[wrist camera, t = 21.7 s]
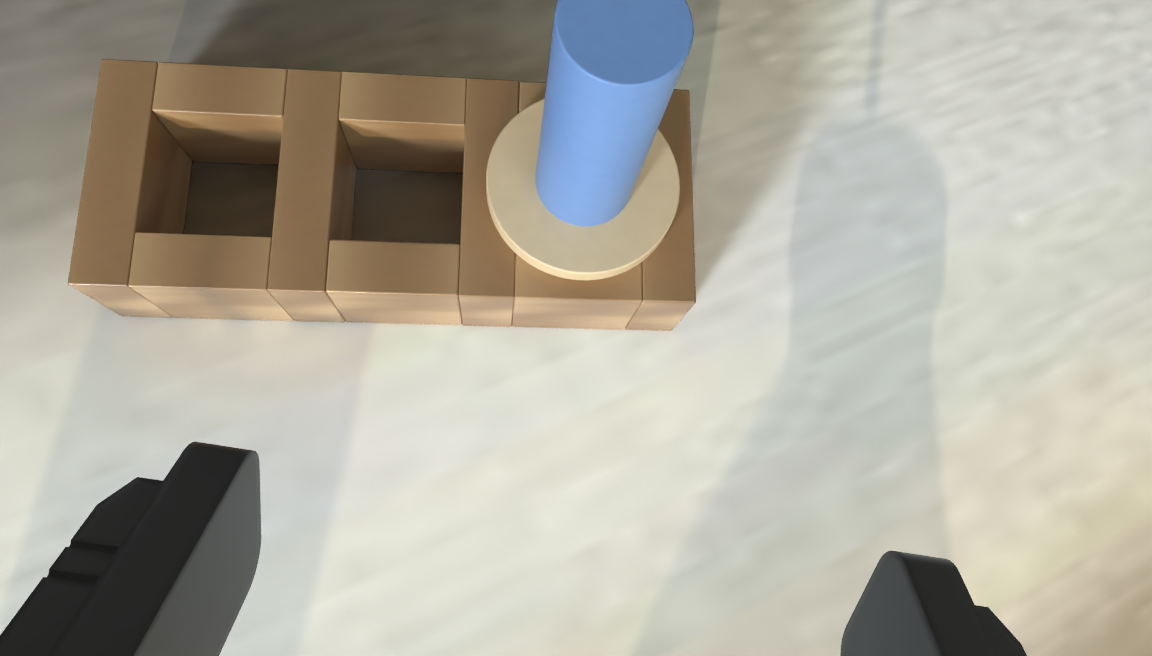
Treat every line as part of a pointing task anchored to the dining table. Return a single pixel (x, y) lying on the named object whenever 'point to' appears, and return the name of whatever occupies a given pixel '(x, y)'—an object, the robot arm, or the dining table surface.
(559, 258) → the peg
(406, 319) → the rack
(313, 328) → the dining table surface
